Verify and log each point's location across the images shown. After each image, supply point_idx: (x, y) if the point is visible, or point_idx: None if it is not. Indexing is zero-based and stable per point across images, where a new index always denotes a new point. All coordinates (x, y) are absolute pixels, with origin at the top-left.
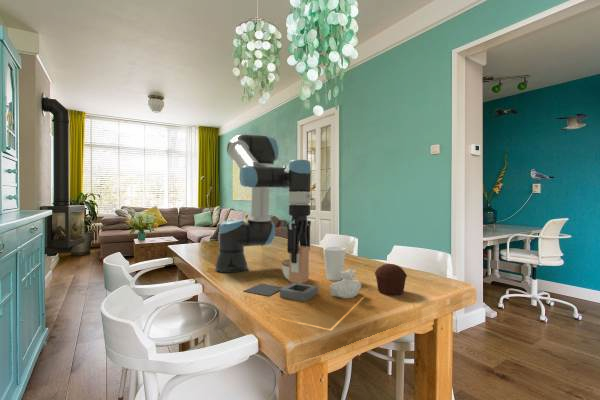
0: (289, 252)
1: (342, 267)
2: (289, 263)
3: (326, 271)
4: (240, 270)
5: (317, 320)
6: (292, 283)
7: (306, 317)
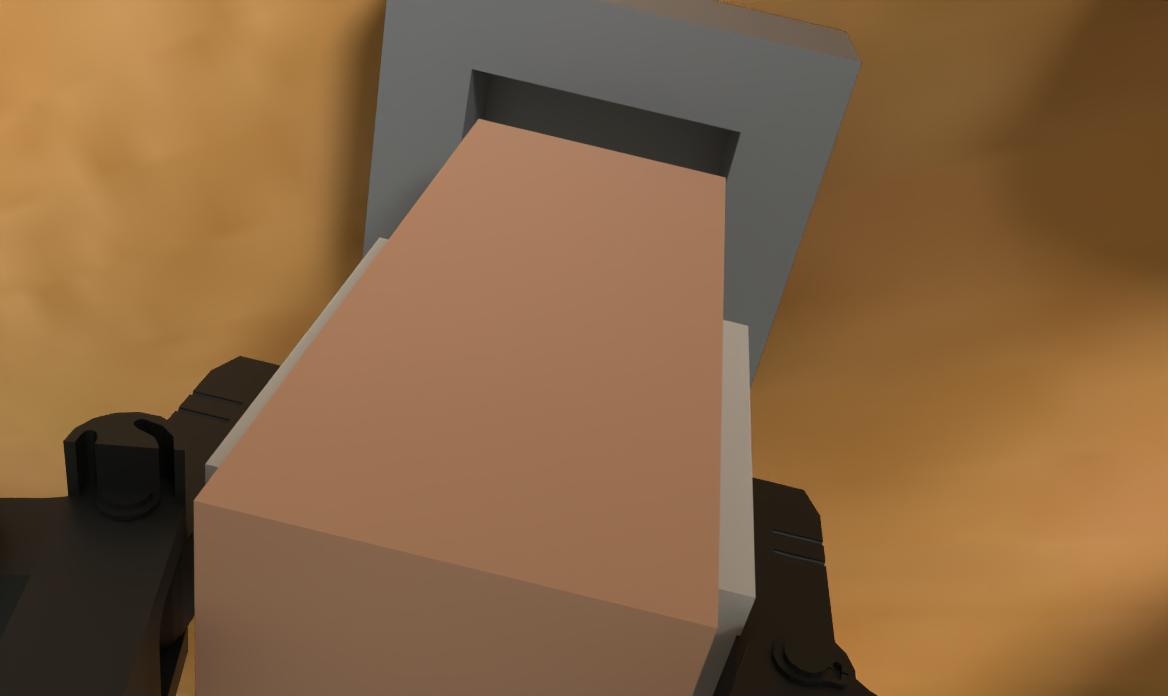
0: (97, 453)
1: None
2: (377, 254)
3: None
4: None
5: (42, 473)
6: (789, 57)
7: (46, 384)
